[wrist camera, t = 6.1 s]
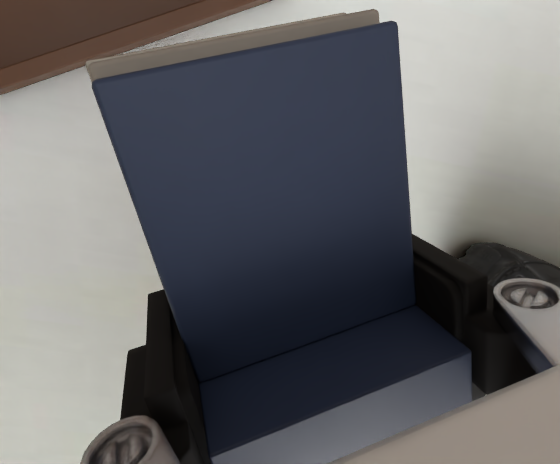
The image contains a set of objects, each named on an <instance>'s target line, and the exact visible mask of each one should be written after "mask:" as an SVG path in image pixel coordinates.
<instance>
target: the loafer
mask: <svg viewBox="0 0 560 464" xmlns="http://www.w3.org/2000/svg"><path fill="white" fill-rule="evenodd" d="M458 260H460V261H462V262H464V263H465V264H467V265H469V266H471V267H473V268H474V269H476V270H478V271H480V272H482V273H483V274H485V275H487V276H488V282H487V283H488V284H490V285H492V286H494V287H495V286H496V285H497V284H498V283H500V282H502V281H504V280H509V279H513V278H530V279H537V280H542V281H546V282H548V283H551V284H553V285H556V286H557V287H559V288H560V268H558V267H556V266H554V265H552V264H550V263H548V262H546V261H543V260H541V259H539V258H536V257H534V256H531V255H529V254H527V253H524V252H522V251H519V250H516V249H513V248H509V247H506V246H504V245H501V244H497V243H479V244H474V245H472V246H471V247H470V248H469V249H468V250H467V251H466V255H465V257H460V258H459V259H458Z"/></svg>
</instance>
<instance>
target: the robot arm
mask: <svg viewBox="0 0 560 464" xmlns="http://www.w3.org/2000/svg"><path fill="white" fill-rule="evenodd" d="M412 246H413V261H414V275H415V290H416V304H415V305H416V306H418V307H419V308H420V309H421V310H423V311H424V312H425V313H426V314H427V315H429V316H430V317H431V318H432V319H433V320H435V321H436V322H437V323H438V324H440V325H441V326H442V327H443V328H444V329H446V330H447V331H448V332H449V333H451V334H452V335H453V336H454V337H455V338H457V339H458V340H459V341H460V342H462V343H463V344H464V345H465V346H466V347H468V348H469V349H470V350H471V352H472V402H470V403H467V404H465V405H463V406H460V407H458V408H455V409H453V410H451V411H448V412H446V413H444V414H441V415H439V416H437V417H434V418H432V419H430V420H427V421H425V422H423V423H420V424H418V425H416V426H413V427H411V428H409V429H406V430H404V431H402V432H399V433H397V434H395V435H392V436H390V437H388V438H385V439H383V440H381V441H378V442H376V443H374V444H372V445H369V446H367V447H365V448H362V449H360V450H358V451H355V452H353V453H351V454H348V455H346V456H344V457H342V458H339V459H337V460H335V461H332V462H330V463H328V464H560V288H559V287H557V286H556V285H553V284H551V283H548V282H546V281H542V280H537V279H530V278H513V279H509V280H504V281H502V282H500V283H498V284H497V285H496V286H495V287H494V286H492V285H490V284H488V283H487V282H488V276H487V275H485V274H483V273H482V272H480V271H478V270H476V269H474V268H473V267H471V266H469V265H467V264H465V263H464V262H462V261H460V260H458V259H456V258H455V257H453V256H451V255H449V254H447V253H446V252H444V251H442V250H440V249H438V248H437V247H435V246H433V245H431V244H429V243H428V242H426V241H424V240H422V239H420V238H419V237H417V236H415V235H413V234H412ZM485 394H487V395H486V396H485ZM80 464H211V462H210V459H209V456H208V449H207V442H206V433H205V426H204V419H203V412H202V405H201V398H200V391H199V384H198V381H197V379H196V376H195V373H194V370H193V368H192V365H191V362H190V359H189V356H188V353H187V350H186V348H185V345H184V342H183V340H182V338H181V335H180V333H179V330H178V327H177V324H176V321H175V319H174V316H173V313H172V310H171V307H170V305H169V302H168V299H167V296H166V293H165V291H164V290H160V291H157V292H154V293H150V294H148V311H147V336H146V345H144V346H141V347H138V348H135V349H132V350H129V351H128V355H127V364H126V373H125V382H124V391H123V400H122V409H121V418H120V421H118V422H116V423H114V424H112V425H110V426H109V427H108V428H106V429H105V430H103V431H102V432H101V433H100V434H99V435H98V436H97V437H96V438H95V439H94V440H93V441H92V442H91V443H90V445H89V446H88V448H87V449H86V451H85V452H84V454H83V457H82V460H81V463H80Z"/></svg>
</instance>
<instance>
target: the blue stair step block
mask: <svg viewBox="0 0 560 464" xmlns="http://www.w3.org/2000/svg"><path fill="white" fill-rule="evenodd" d="M85 65H86V67H87V70H88V73H89V76H90V79H91V82H92V89H93V92H94V95H95V97H96V100H97V103H98V106H99V109H100V111H101V114H102V117H103V120H104V123H105V125H106V128H107V131H108V134H109V137H110V139H111V142H112V145H113V148H114V151H115V153H116V156H117V159H118V162H119V165H120V167H121V170H122V173H123V176H124V179H125V181H126V184H127V187H128V190H129V193H130V195H131V198H132V201H133V204H134V207H135V209H136V212H137V215H138V218H139V221H140V223H141V226H142V229H143V232H144V235H145V237H146V240H147V243H148V246H149V249H150V251H151V254H152V257H153V260H154V263H155V265H156V268H157V271H158V274H159V277H160V279H161V282H162V285H163V288H164V291H165V293H166V296H167V299H168V302H169V305H170V307H171V310H172V313H173V316H174V319H175V321H176V324H177V327H178V330H179V333H180V335H181V338H182V340H183V342H184V345H185V348H186V350H187V353H188V356H189V359H190V362H191V365H192V368H193V370H194V373H195V376H196V379H197V381H198V384H199V391H200V398H201V405H202V412H203V419H204V426H205V433H206V442H207V449H208V456H209V459H210V462H211V464H328V463H330V462H332V461H335V460H337V459H339V458H342V457H344V456H346V455H348V454H351V453H353V452H355V451H358V450H360V449H362V448H365V447H367V446H369V445H372V444H374V443H376V442H378V441H381V440H383V439H385V438H388V437H390V436H392V435H395V434H397V433H399V432H402V431H404V430H406V429H409V428H411V427H413V426H416V425H418V424H420V423H423V422H425V421H427V420H430V419H432V418H434V417H437V416H439V415H441V414H444V413H446V412H448V411H451V410H453V409H455V408H458V407H460V406H463V405H465V404H467V403H470V402H472V352H471V350H470V349H469V348H468V347H466V346H465V345H464V344H463V343H462V342H460V341H459V340H458V339H457V338H455V337H454V336H453V335H452V334H451V333H449V332H448V331H447V330H446V329H444V328H443V327H442V326H441V325H440V324H438V323H437V322H436V321H435V320H433V319H432V318H431V317H430V316H429V315H427V314H426V313H425V312H424V311H423V310H421V309H420V308H419V307H418V306H416V305H415V304H416V290H415V275H414V261H413V246H412V231H411V217H410V202H409V187H408V172H407V158H406V143H405V128H404V114H403V99H402V84H401V70H400V55H399V40H398V26H397V23H396V22H394V21H388V22H383V23H379V13H378V11H377V10H374V9H371V10H366V11H361V12H355V13H350V14H346V13H339V14H334V15H329V16H323V17H318V18H313V19H307V20H302V21H297V22H291V23H286V24H281V25H275V26H270V27H265V28H260V29H254V30H249V31H244V32H238V33H233V34H228V35H222V36H217V37H212V38H206V39H201V40H196V41H190V42H185V43H180V44H174V45H169V46H164V47H158V48H153V49H148V50H142V51H137V52H132V53H126V54H121V55H116V56H110V57H105V58H100V59H94V60H89V61H87V62H86V64H85Z"/></svg>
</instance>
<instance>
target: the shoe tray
mask: <svg viewBox="0 0 560 464" xmlns="http://www.w3.org/2000/svg"><path fill="white" fill-rule="evenodd" d="M270 1H273V0H0V95H2V94H5V93H8V92H10V91H13V90H16V89H19V88H22V87H25V86H28V85H31V84H34V83H36V82H39V81H42V80H45V79H48V78H51V77H54V76H57V75H59V74H62V73H65V72H68V71H71V70H74V69H77V68H80V67H82V66H85V64H86V62H87V61H89V60H94V59H100V58H105V57H110V56H114V55H117V54H120V53H123V52H126V51H129V50H131V49H134V48H137V47H140V46H143V45H146V44H149V43H152V42H154V41H157V40H160V39H163V38H166V37H169V36H172V35H175V34H178V33H180V32H183V31H186V30H189V29H192V28H195V27H198V26H201V25H203V24H206V23H209V22H212V21H215V20H218V19H221V18H224V17H226V16H229V15H232V14H235V13H238V12H241V11H244V10H247V9H250V8H252V7H255V6H258V5H261V4H264V3H267V2H270Z"/></svg>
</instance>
